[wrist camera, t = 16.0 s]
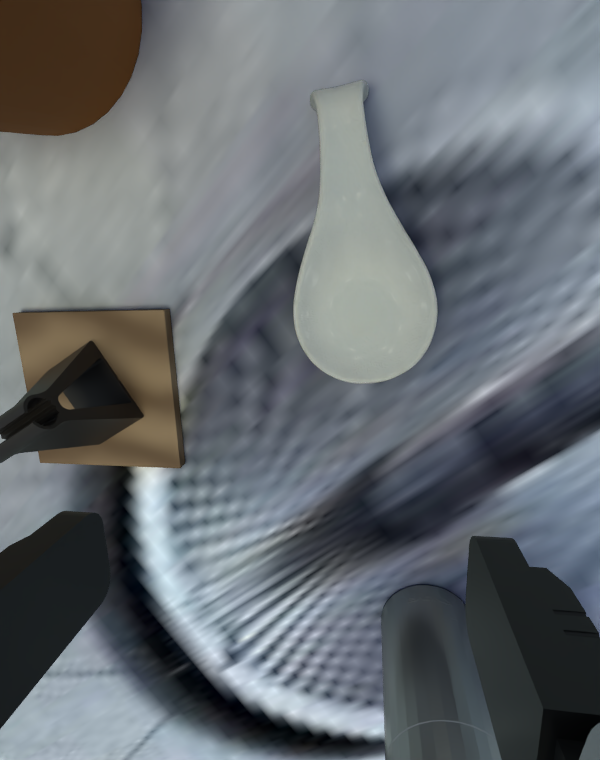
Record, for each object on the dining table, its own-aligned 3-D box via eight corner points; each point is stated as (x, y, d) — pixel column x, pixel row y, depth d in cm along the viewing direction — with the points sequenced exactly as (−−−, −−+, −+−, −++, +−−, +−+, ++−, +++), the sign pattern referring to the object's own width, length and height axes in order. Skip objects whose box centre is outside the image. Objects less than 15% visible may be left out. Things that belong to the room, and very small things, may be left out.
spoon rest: (437, 366, 40) (452, 386, 33) (311, 382, 42) (299, 404, 35) (408, 77, 35) (418, 30, 28) (266, 113, 37) (243, 76, 30)
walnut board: (185, 463, 46) (180, 468, 45) (48, 458, 48) (40, 462, 47) (169, 309, 42) (164, 310, 41) (21, 312, 45) (12, 313, 43)
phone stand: (50, 369, 44) (-62, 404, 33) (92, 340, 43) (-9, 365, 31) (101, 443, 45) (10, 501, 34) (144, 416, 44) (65, 468, 32)
